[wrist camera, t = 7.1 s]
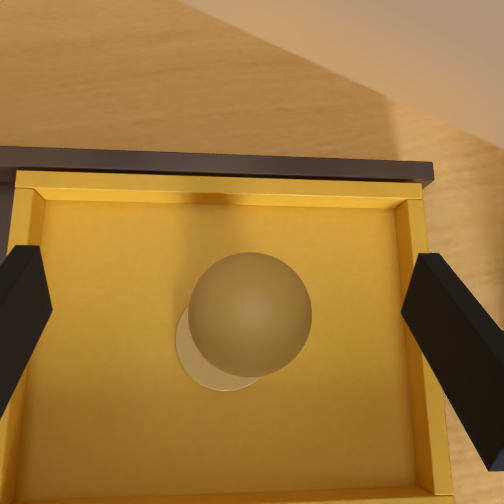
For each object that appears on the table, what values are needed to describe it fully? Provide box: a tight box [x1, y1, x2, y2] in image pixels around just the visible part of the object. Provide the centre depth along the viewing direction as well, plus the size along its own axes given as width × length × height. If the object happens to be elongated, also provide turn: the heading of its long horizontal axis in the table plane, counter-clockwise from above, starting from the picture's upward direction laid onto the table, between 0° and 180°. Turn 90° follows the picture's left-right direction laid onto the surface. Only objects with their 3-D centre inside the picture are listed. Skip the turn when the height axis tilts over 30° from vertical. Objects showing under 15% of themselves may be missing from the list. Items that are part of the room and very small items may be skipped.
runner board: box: [0, 146, 434, 265], centre depth 20 cm, size 30×17×3 cm, turn 90°
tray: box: [0, 170, 454, 504], centre depth 14 cm, size 18×14×13 cm
